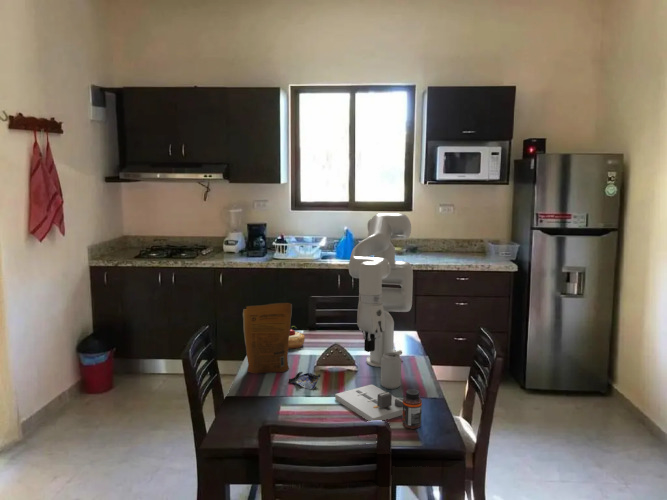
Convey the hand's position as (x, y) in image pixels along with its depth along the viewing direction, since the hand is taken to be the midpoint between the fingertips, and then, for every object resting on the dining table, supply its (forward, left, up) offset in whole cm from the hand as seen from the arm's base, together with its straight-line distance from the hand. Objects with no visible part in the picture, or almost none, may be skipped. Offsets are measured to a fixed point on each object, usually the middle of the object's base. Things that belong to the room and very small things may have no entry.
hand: (369, 350), depth 191 cm
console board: (0, +2, -19) cm, 19 cm away
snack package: (+10, -27, -20) cm, 35 cm away
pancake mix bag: (+16, -45, -19) cm, 51 cm away
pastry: (-7, -67, -19) cm, 70 cm away
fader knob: (0, +9, -16) cm, 19 cm away
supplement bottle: (-2, +20, -19) cm, 28 cm away
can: (-16, -8, -19) cm, 26 cm away
